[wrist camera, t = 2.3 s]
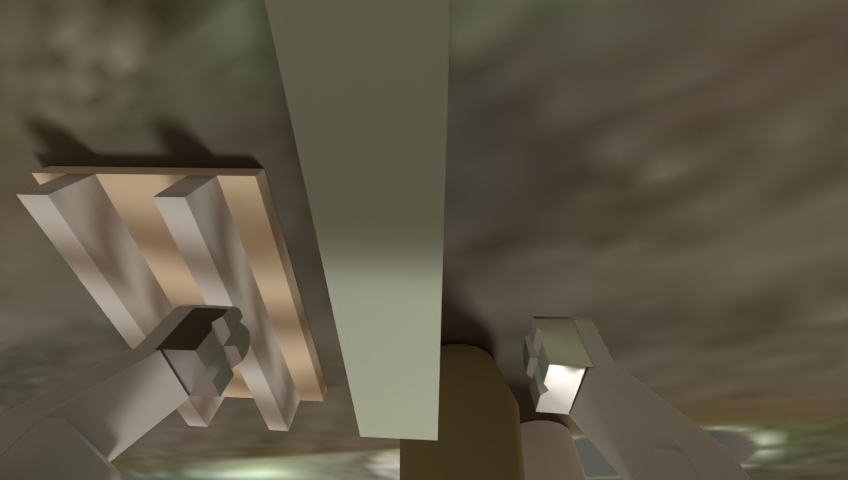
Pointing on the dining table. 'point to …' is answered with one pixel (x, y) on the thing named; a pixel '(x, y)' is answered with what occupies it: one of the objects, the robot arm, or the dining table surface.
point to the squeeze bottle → (469, 424)
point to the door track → (187, 267)
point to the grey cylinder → (549, 452)
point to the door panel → (375, 188)
